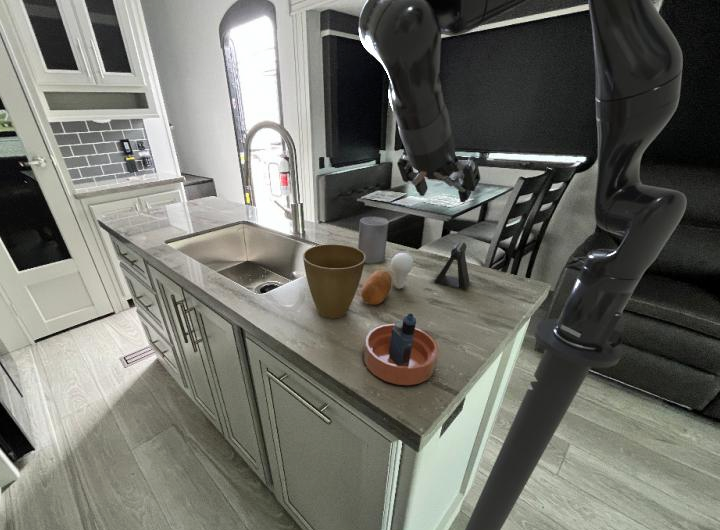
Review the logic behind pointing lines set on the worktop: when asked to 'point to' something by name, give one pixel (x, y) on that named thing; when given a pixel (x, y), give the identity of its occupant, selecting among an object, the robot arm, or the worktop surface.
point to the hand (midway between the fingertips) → (443, 195)
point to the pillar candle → (373, 238)
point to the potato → (376, 287)
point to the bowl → (387, 369)
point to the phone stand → (462, 270)
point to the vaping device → (402, 340)
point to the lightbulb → (401, 268)
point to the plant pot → (333, 277)
